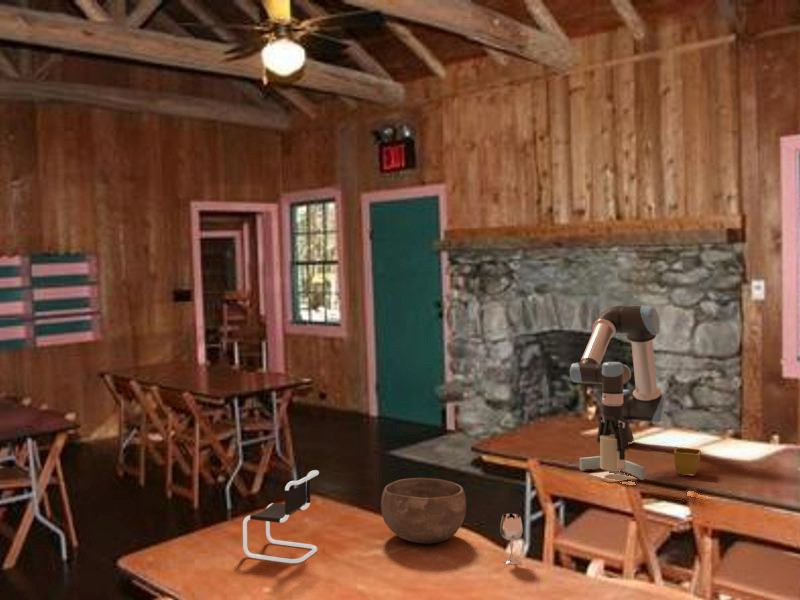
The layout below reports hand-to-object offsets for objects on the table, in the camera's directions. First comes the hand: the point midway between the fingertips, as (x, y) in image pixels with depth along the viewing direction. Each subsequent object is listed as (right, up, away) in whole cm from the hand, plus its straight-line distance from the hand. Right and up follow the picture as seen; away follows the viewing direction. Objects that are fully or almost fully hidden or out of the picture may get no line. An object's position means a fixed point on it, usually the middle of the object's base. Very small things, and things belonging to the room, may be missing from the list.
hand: (612, 465), depth 292 cm
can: (0, -1, 0) cm, 1 cm away
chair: (-111, -8, -75) cm, 134 cm away
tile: (0, -5, 0) cm, 5 cm away
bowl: (-72, -8, -65) cm, 97 cm away
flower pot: (+29, -4, +3) cm, 29 cm away
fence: (+1, -4, +5) cm, 6 cm away
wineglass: (-49, -8, -84) cm, 97 cm away
